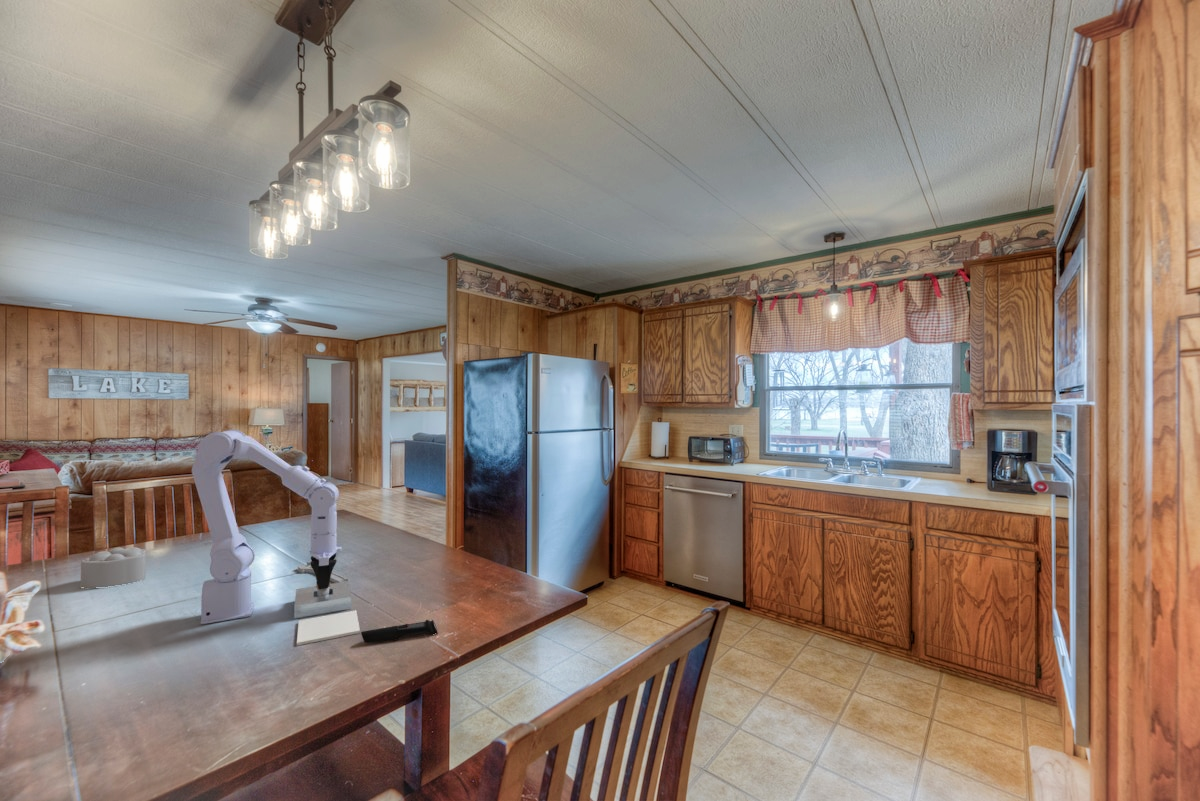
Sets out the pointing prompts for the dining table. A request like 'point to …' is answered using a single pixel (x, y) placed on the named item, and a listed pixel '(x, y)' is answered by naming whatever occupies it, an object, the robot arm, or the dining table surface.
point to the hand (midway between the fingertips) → (323, 586)
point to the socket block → (322, 600)
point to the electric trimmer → (399, 632)
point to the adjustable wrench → (308, 568)
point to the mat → (327, 627)
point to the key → (322, 591)
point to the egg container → (113, 567)
